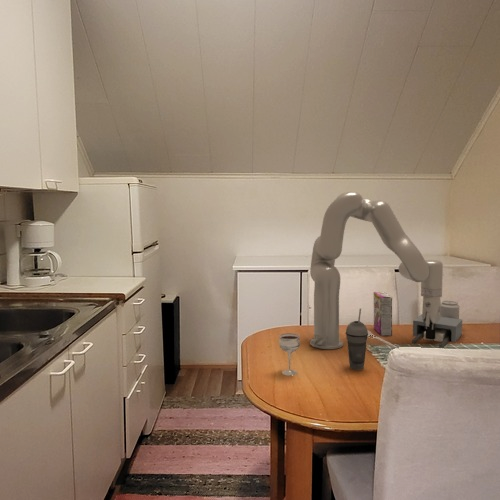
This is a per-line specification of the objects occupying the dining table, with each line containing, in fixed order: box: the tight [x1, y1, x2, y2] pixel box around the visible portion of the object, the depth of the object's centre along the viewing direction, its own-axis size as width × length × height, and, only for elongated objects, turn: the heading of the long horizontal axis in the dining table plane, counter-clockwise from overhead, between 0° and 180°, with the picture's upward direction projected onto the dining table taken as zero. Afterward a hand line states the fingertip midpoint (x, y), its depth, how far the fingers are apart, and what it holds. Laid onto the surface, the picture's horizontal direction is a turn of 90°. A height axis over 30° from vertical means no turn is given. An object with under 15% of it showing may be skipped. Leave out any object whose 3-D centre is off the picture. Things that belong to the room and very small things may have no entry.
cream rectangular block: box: [423, 328, 448, 343], centre depth 169 cm, size 10×7×3 cm
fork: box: [368, 330, 398, 349], centre depth 165 cm, size 3×20×2 cm, turn 21°
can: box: [441, 300, 460, 319], centre depth 179 cm, size 8×8×12 cm
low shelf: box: [411, 313, 463, 348], centre depth 167 cm, size 22×16×6 cm
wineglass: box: [278, 332, 301, 377], centre depth 134 cm, size 7×7×12 cm
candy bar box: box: [373, 291, 393, 337], centre depth 176 cm, size 11×5×16 cm, turn 179°
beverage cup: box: [345, 308, 369, 371], centre depth 137 cm, size 7×7×20 cm
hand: (430, 338), depth 163 cm, fingers closed
